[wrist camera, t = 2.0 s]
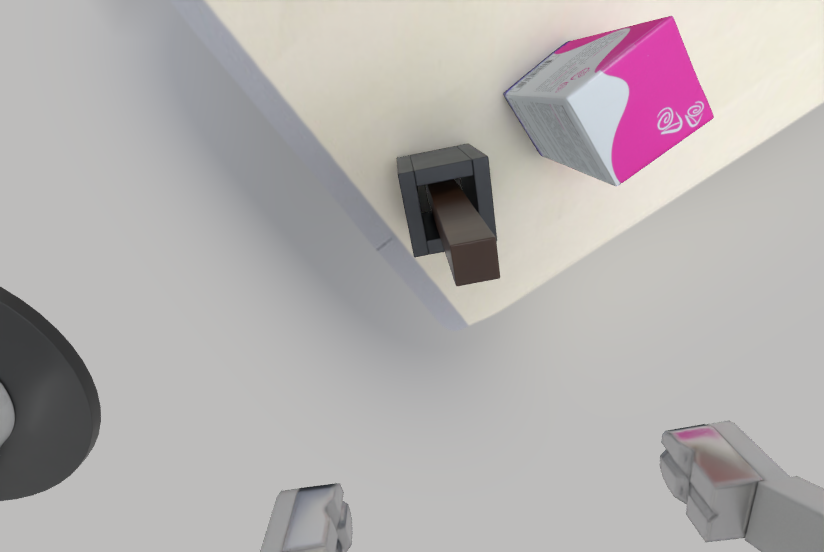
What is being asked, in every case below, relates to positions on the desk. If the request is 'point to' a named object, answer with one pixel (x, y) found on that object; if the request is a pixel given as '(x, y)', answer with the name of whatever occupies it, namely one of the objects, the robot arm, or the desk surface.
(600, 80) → the supplement box
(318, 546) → the robot arm
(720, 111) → the desk surface
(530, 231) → the desk surface
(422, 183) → the holder
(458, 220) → the stick
